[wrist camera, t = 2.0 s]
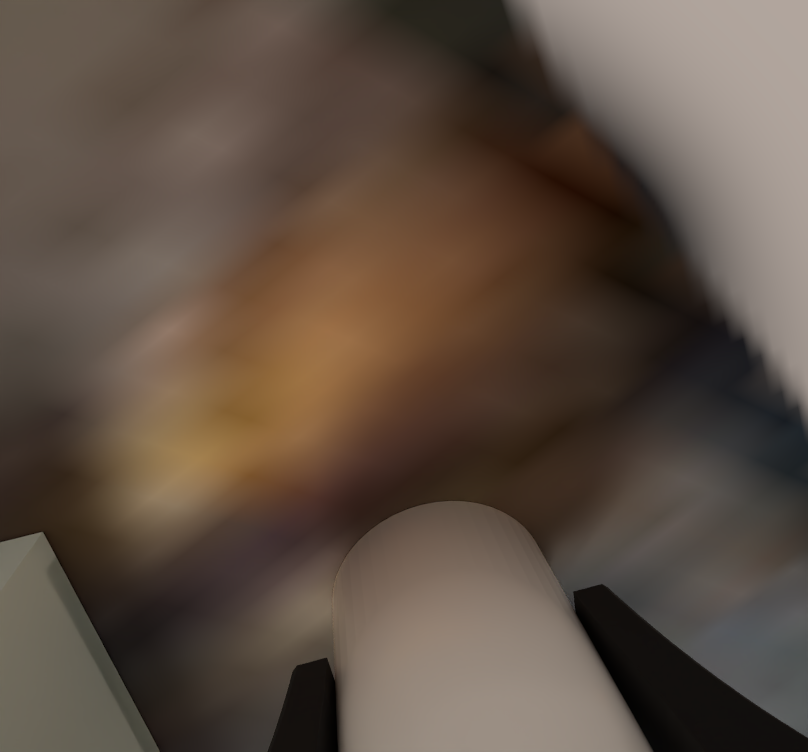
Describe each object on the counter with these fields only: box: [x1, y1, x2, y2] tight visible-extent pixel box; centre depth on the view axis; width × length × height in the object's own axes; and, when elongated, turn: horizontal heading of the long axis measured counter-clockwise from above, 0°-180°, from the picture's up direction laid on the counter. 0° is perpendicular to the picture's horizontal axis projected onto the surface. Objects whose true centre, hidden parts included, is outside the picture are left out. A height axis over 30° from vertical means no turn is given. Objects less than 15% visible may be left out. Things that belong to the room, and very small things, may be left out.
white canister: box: [332, 501, 654, 752], centre depth 10 cm, size 5×5×7 cm
